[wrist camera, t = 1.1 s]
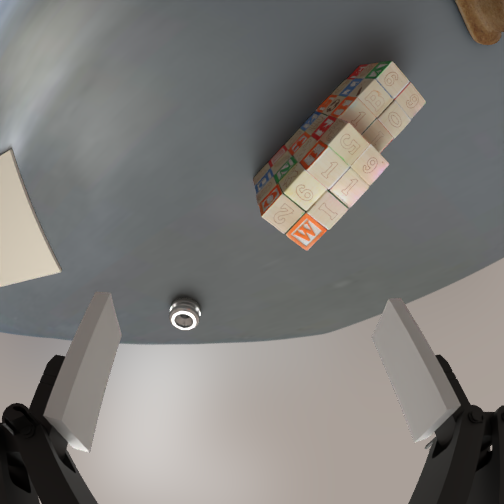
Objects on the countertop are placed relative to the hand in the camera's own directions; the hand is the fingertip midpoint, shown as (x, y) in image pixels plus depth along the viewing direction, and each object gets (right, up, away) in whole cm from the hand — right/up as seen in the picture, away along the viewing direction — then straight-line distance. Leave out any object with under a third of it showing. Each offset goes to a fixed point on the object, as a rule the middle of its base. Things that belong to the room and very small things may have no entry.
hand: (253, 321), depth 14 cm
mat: (-45, +7, +25) cm, 52 cm away
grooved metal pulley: (-11, -6, +36) cm, 38 cm away
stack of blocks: (+9, +18, +23) cm, 31 cm away
